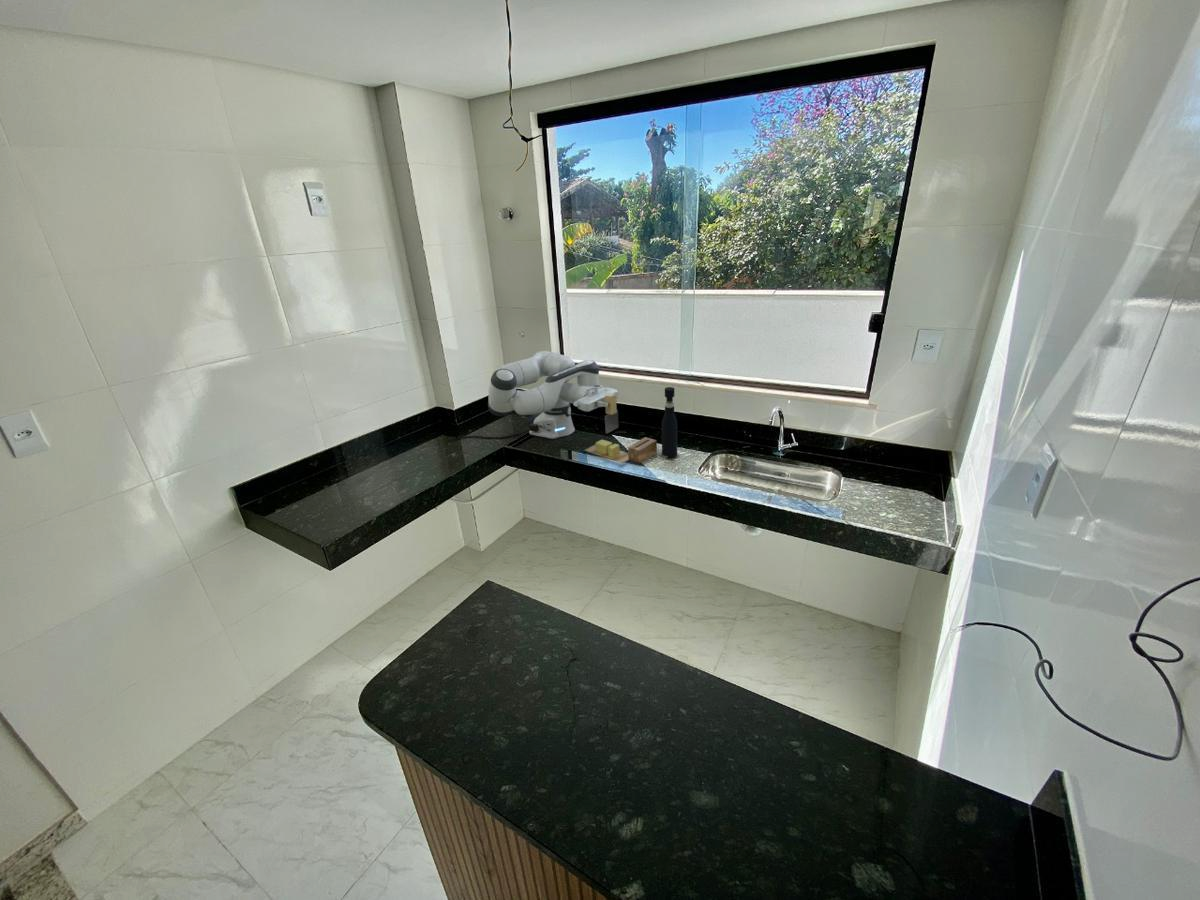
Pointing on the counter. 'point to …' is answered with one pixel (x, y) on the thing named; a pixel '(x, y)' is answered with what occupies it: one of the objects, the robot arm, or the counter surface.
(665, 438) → the dark water bottle
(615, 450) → the butter pat
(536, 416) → the flask
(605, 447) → the butter
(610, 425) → the knife
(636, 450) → the knife block
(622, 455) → the board
